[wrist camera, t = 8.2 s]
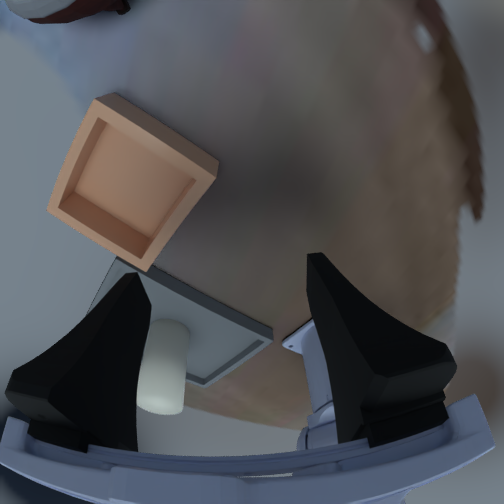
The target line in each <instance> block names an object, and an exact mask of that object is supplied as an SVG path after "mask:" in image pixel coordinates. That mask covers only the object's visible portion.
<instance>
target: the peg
mask: <svg viewBox="0 0 504 504" xmlns="http://www.w3.org/2000/svg"><path fill="white" fill-rule="evenodd" d="M189 338H190V332H189V330H188V328H187V327H186V326H185V325H183V324H182V323H180V322H178V321H175V320H172V319H159V320H156V321H154V322H153V323H152V324H151V326H150V329H149V333H148V338H147V342H146V347H145V351H144V356H143V361H142V366H141V371H140V376H139V381H138V387H137V405H138V406H139V407H141V408H142V409H144V410H146V411H149V412H152V413H156V414H162V415H174V414H178V413H180V412H181V411H182V410H183V401H184V389H185V378H186V367H187V357H188V348H189Z"/></svg>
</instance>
